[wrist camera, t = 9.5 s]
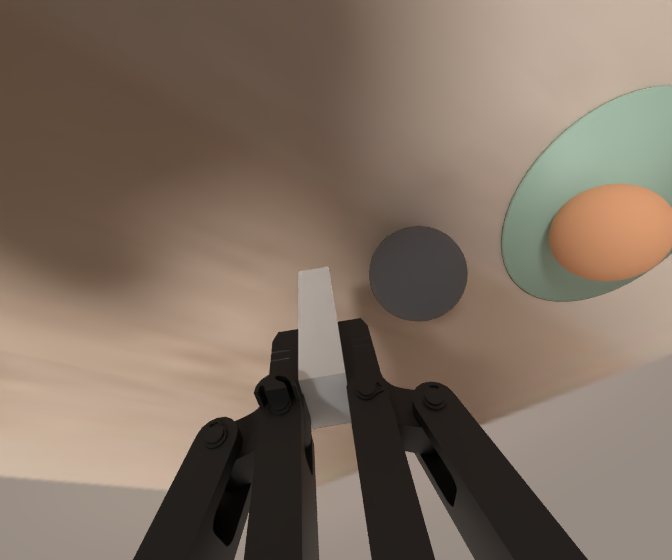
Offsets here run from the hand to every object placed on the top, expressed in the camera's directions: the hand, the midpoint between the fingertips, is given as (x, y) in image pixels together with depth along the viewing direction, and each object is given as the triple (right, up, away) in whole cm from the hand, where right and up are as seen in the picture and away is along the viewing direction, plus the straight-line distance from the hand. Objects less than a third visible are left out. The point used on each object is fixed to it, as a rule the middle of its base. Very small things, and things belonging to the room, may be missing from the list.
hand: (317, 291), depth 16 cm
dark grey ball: (+6, +1, +2) cm, 6 cm away
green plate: (+19, +5, +4) cm, 20 cm away
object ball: (+16, +3, +2) cm, 17 cm away
